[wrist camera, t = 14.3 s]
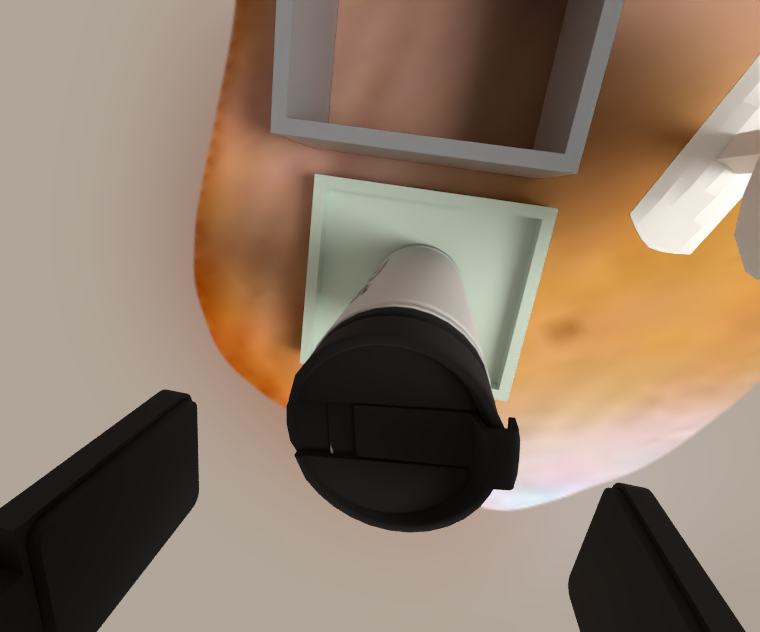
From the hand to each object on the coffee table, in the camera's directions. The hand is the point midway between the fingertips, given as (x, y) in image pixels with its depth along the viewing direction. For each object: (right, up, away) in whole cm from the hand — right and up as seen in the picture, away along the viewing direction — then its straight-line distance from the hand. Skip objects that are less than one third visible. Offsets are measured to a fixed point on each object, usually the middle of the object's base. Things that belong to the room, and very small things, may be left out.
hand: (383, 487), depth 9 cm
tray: (+3, +6, +21) cm, 22 cm away
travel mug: (+3, +6, +20) cm, 22 cm away
